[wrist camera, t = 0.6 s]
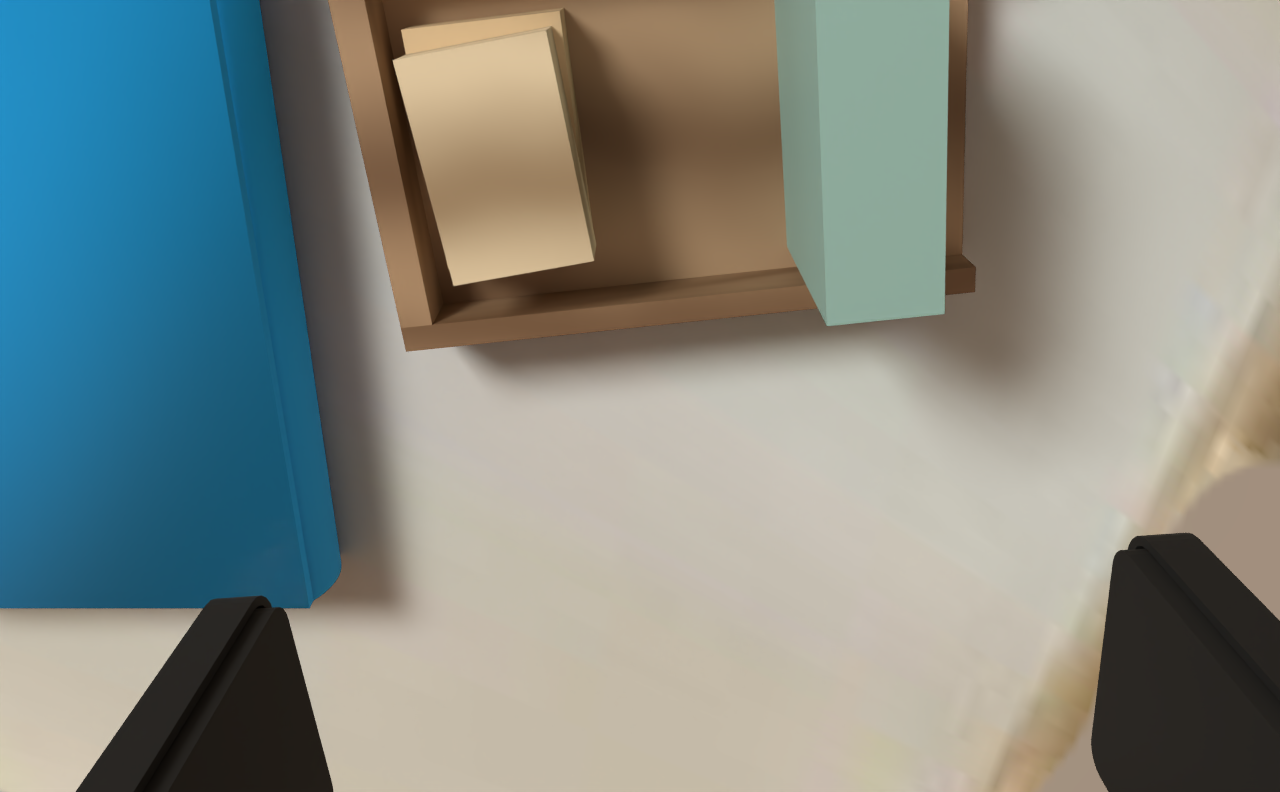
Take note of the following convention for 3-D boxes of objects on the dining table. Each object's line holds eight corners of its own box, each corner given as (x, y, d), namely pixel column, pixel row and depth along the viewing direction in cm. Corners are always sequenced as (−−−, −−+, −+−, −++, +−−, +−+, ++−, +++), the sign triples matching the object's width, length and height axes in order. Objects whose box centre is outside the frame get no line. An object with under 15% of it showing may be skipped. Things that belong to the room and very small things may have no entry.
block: (771, -55, 29) (813, -57, 22) (875, -68, 29) (950, -74, 22) (787, 246, 32) (826, 325, 25) (879, 236, 32) (944, 313, 25)
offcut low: (414, 25, 30) (401, 29, 28) (563, 7, 29) (559, 11, 28) (457, 252, 32) (448, 268, 31) (594, 237, 32) (592, 252, 31)
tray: (346, -59, 30) (314, -60, 27) (952, -134, 29) (987, -143, 26) (425, 317, 35) (406, 351, 32) (945, 262, 34) (975, 291, 31)
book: (-146, 613, 36) (-491, -195, 25) (-68, 546, 39) (-337, -178, 29) (331, 609, 35) (188, -204, 25) (362, 542, 39) (250, -185, 29)
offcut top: (406, 54, 28) (392, 60, 27) (551, 25, 28) (546, 30, 26) (463, 268, 31) (453, 286, 29) (596, 244, 30) (594, 260, 29)
